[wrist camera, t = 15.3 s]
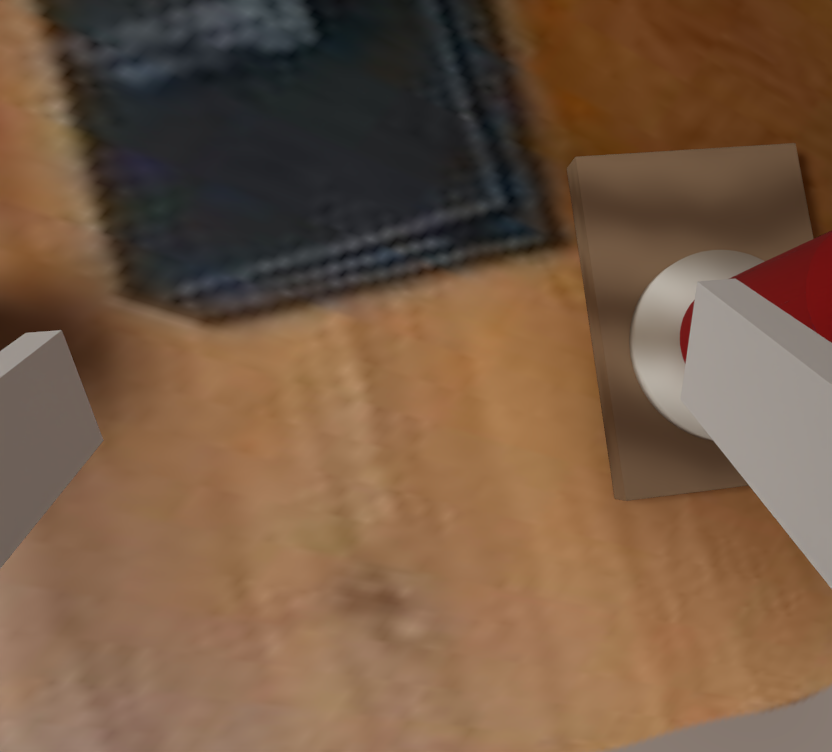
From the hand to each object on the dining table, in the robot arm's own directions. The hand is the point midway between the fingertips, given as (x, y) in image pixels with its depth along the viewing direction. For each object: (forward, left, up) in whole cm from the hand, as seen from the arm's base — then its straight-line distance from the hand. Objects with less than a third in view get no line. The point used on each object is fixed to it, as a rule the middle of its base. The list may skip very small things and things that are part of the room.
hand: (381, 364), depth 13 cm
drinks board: (-4, +21, -21) cm, 30 cm away
